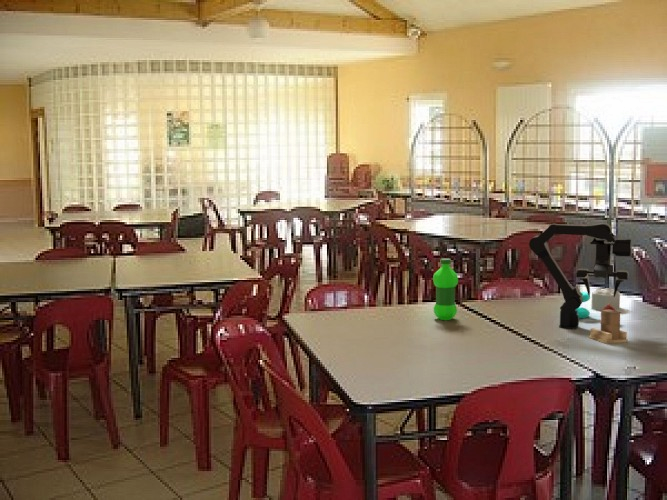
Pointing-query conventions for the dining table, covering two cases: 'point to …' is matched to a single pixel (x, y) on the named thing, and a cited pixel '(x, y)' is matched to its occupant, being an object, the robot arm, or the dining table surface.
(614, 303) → the lumpy-topped squat cylinder
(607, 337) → the oak base
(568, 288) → the robot arm
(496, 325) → the dining table surface
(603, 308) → the red rounded piece
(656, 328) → the dining table surface
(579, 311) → the donuts
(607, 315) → the brown cardboard box
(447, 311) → the plastic bottle
